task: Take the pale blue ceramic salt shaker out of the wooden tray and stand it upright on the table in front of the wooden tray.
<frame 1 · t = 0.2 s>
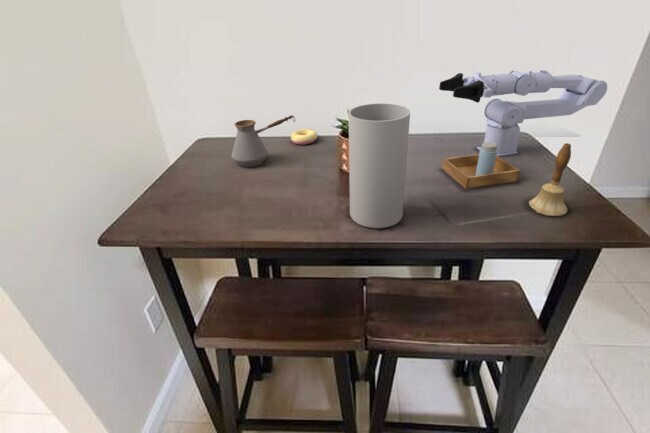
hand: (446, 89, 106), 21 cm above the table, tool horizontal, fingers open, 7 cm apart
cylinder vase: (376, 216, 91), on the table
donut: (304, 141, 137), on the table
wooden tray: (478, 176, 107), on the table
hand bell: (546, 208, 91), on the table
shaker: (483, 175, 106), point 1 cm above the table, touching wooden tray
coffee pot: (266, 162, 122), on the table
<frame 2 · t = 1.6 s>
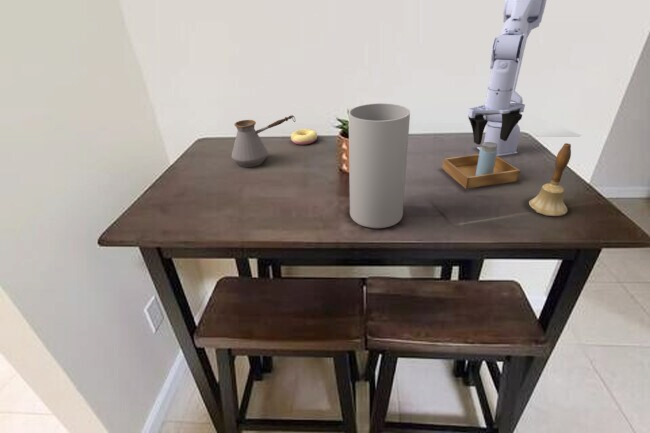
hand: (490, 141, 101), 10 cm above the table, tool pointing down, fingers open, 7 cm apart
nothing on the table moved.
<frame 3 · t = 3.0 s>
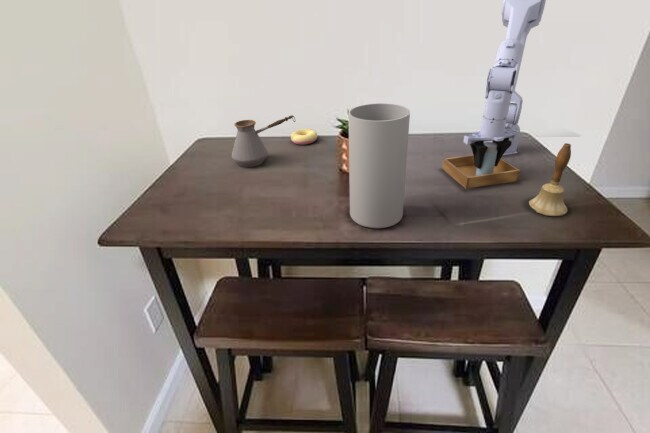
hand: (485, 165, 104), 3 cm above the table, tool pointing down, fingers closed on shaker, 4 cm apart
shaker: (483, 175, 106), point 1 cm above the table, touching wooden tray, gripper
everything else where it was.
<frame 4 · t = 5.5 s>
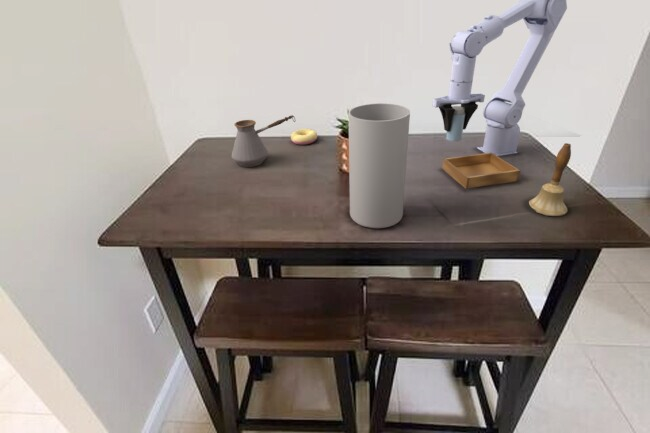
hand: (454, 129, 110), 10 cm above the table, tool pointing down, fingers closed on shaker, 4 cm apart
shaker: (453, 138, 111), point 8 cm above the table, touching gripper
everything else where it was.
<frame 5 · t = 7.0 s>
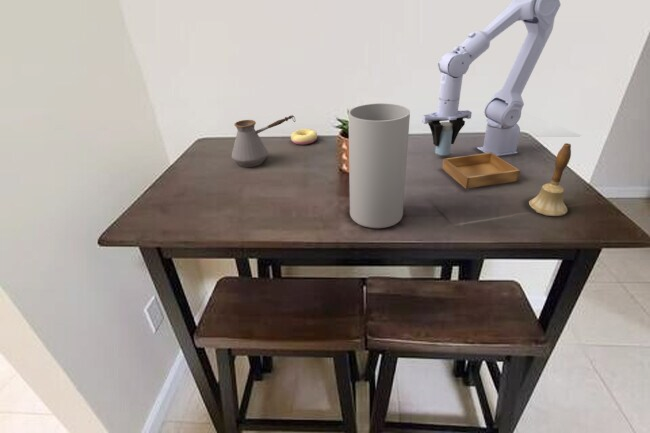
hand: (443, 143, 115), 5 cm above the table, tool pointing down, fingers closed on shaker, 4 cm apart
shaker: (442, 152, 117), point 2 cm above the table, touching gripper
everything else where it was.
when the fingers open (3 cm above the table, at t = 8.1 s): shaker stays where it is, on the table.
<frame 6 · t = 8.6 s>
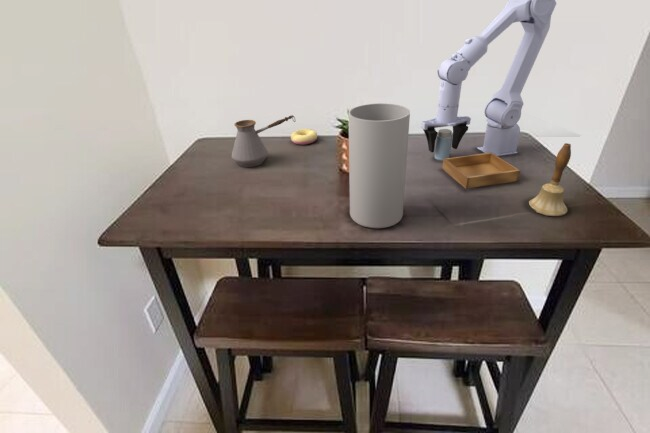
hand: (442, 149, 116), 3 cm above the table, tool pointing down, fingers open, 7 cm apart
shaker: (441, 159, 118), on the table
everything else where it was.
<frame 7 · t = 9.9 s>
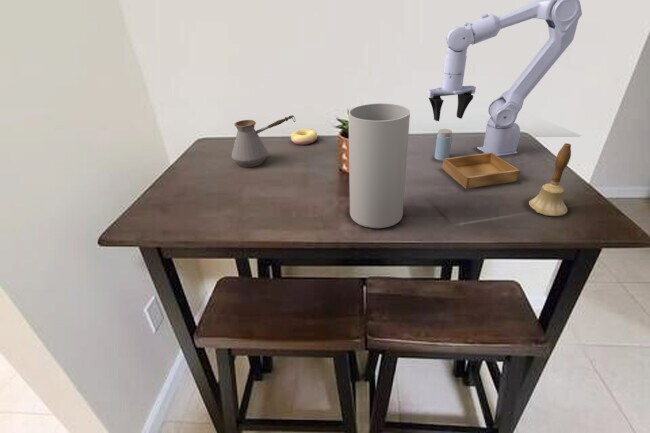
hand: (447, 118, 118), 10 cm above the table, tool pointing down, fingers open, 7 cm apart
nothing on the table moved.
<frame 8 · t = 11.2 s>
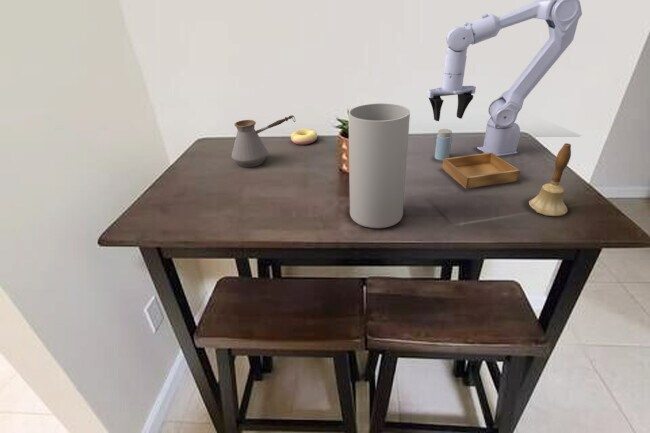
hand: (447, 118, 118), 10 cm above the table, tool pointing down, fingers open, 7 cm apart
nothing on the table moved.
at the end: shaker inside the target area (0.0 cm from its centre), on the table; shaker tilted 0°; the gripper is holding nothing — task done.
